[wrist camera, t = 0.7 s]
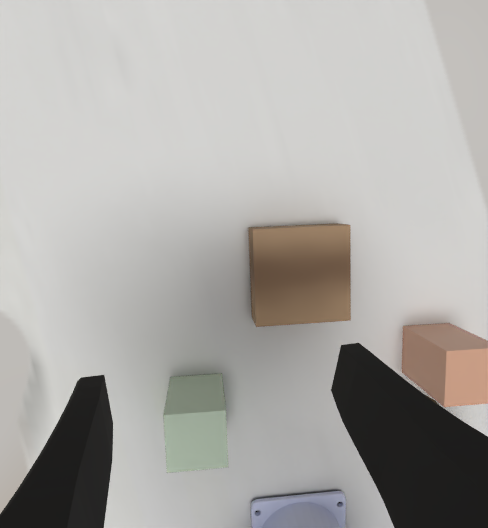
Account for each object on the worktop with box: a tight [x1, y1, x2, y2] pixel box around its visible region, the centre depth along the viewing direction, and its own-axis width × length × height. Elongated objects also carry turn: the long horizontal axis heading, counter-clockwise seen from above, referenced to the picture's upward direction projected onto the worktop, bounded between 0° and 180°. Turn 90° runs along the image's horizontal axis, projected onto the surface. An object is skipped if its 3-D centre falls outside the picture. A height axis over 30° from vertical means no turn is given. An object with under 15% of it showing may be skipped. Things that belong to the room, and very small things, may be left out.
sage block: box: [163, 373, 228, 473], centre depth 29 cm, size 4×4×6 cm
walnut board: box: [248, 224, 351, 327], centre depth 30 cm, size 7×7×3 cm
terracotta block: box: [402, 323, 488, 407], centre depth 31 cm, size 4×4×6 cm
